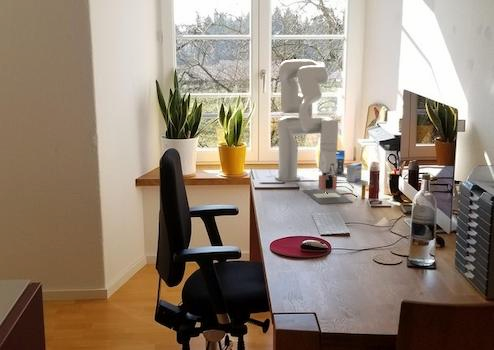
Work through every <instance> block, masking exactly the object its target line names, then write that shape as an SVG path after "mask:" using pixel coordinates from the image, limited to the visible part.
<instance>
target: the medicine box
mask: <svg viewBox="0 0 494 350" xmlns="http://www.w3.org/2000/svg"><path fill="white" fill-rule="evenodd" d="M362 165H363V163H361V162H353V163H350V164H347V165H346V182H349V183H357V182H359V181H361V180H362V171H363V170H362V167H363V166H362Z"/></svg>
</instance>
